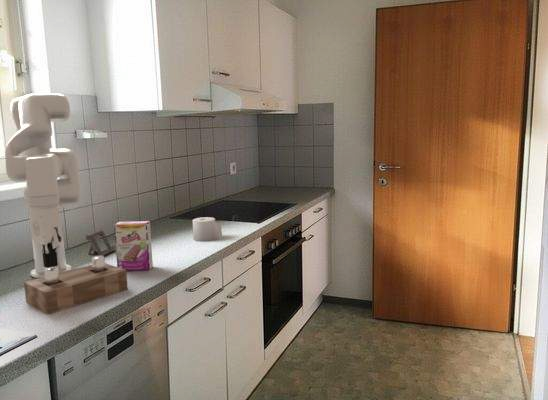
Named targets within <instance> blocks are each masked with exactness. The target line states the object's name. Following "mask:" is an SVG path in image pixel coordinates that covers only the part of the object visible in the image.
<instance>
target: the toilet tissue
mask: <svg viewBox="0 0 548 400" xmlns="http://www.w3.org/2000/svg"><path fill="white" fill-rule="evenodd" d="M192 232H193V233H192V235H193V241H195V242H200V243H203V242H211V241H216V240H220V239H222V238H223V232H222V225H221V224H220V223H219V222H217V221H216V218H214V217H213V216H212V217H210V216H205V217H201V216H200V217H196V218H194V219H192Z"/></svg>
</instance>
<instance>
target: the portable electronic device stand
mask: <svg viewBox="0 0 548 400" xmlns="http://www.w3.org/2000/svg"><path fill="white" fill-rule="evenodd" d="M101 238H102V240H103V242H104V243H105V246H106V249H105V250H104V249H103V250H101V248H100V246H99V242H100V239H101ZM85 240H86V241H88V242H89V241H91V244H90V248H89V251H88V253H87V254H88V256H89V255H92V253H96V252H97V254H98V255H97V256H104V257H105V256H106V255H109V254H110V253H113V252H114V251H115V252H116V245H113V246H111V244H110V242H109V240H108V239H107V236H106V234H105V232H104V231H103V230H102V229H100V230H97V231H95V232H93V233H90V234H87V235H86V236H85Z"/></svg>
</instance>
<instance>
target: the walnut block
mask: <svg viewBox="0 0 548 400" xmlns="http://www.w3.org/2000/svg"><path fill="white" fill-rule="evenodd" d="M59 280H60V283H58V284H54V285H50V286H47V285H46V282H45V277H42V278H34V279H31V280H27V281H24V282H23V284H24V285H23V286H24V293H25V302H26V303H27V304H29V305H31V306H32V307H35V308H36V309H38V310H40V311H41V312H43V313H45V314H47V315H49V314H50V315H51V314H53V313H57V312H60V311H62V310H66V309H69V308H72V307H77V306H78V305H81V304H85V303H88V302H92V301H95V300H97V299H101V298H105V297H108V296H110V295H113V294H116V293H120V292H124V291H127V290H128V275H127V271H126V270H124V269H121V268H118V267H117V266H116V265H115V266H114V265H112V264H110V263H106V262H105V271H102V272H98V273H94V272H93V270H92V264H89V265H85V266H81V267H78V268H74V269H71V270H69V271H65V272H61V273H59Z"/></svg>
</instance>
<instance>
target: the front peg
mask: <svg viewBox="0 0 548 400" xmlns="http://www.w3.org/2000/svg"><path fill="white" fill-rule="evenodd" d="M44 273H45V282H46V285H47V286H50V285H54V284H58V283H60V280H59V270H58V267H49V268H45V269H44Z"/></svg>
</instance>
